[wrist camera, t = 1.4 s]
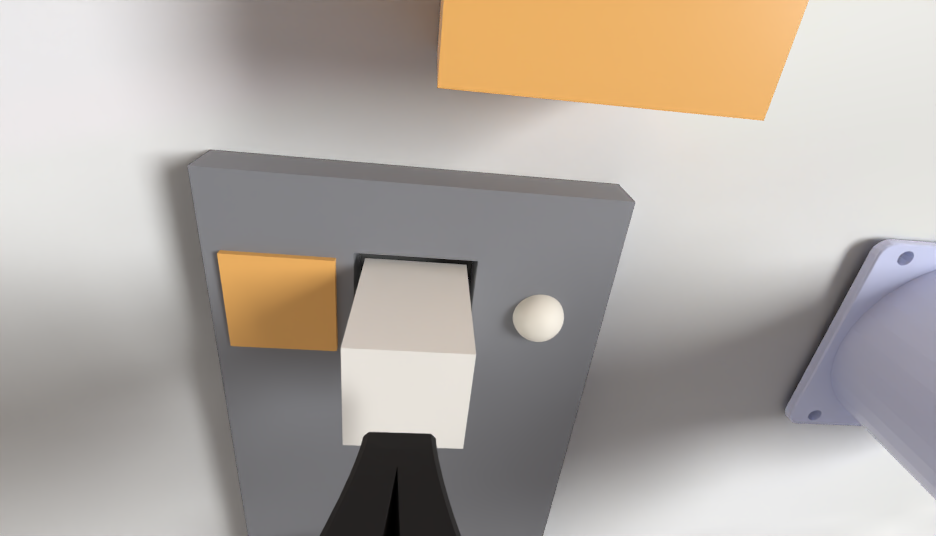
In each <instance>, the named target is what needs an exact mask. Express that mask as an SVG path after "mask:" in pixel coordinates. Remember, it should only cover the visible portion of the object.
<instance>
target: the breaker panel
mask: <svg viewBox="0 0 936 536" xmlns="http://www.w3.org/2000/svg"><path fill="white" fill-rule="evenodd" d="M188 172H189V178H190V184H191V190H192V196H193V202H194V209H195V215H196V221H197V227H198V233H199V239H200V245H201V251H202V257H203V263H204V269H205V276H206V282H207V288H208V294H209V300H210V306H211V312H212V318H213V324H214V330H215V336H216V343H217V349H218V355H219V361H220V367H221V373H222V379H223V385H224V391H225V397H226V403H227V410H228V416H229V422H230V428H231V434H232V440H233V446H234V452H235V458H236V464H237V470H238V476H239V483H240V489H241V495H242V501H243V507H244V513H245V519H246V525H247V531H248V536H320V534H321V532H322V530H323V528H324V526H325V524H326V522H327V520H328V518H329V516H330V514H331V512H332V510H333V508H334V507H335V505H336V503H337V501H338V499H339V497H340V495H341V492H342V490H343V488H344V486H345V484H346V481H347V479H348V477H349V475H350V472H351V470H352V468H353V465H354V463H355V460H356V457H357V455H358V452H359V449H360V446H356V445H343V439H342V389H341V345H342V341H343V338H344V334H345V330H346V327H347V323H348V319H349V316H350V312H351V308H352V305H353V301H354V297H355V294H356V290H357V287H358V283H359V279H360V253H363V254H378V255H393V256H408V257H423V258H438V259H453V260H468V261H472V266H471V275H470V283H469V293H470V302H471V311H472V321H473V330H474V339H475V348H476V360H475V367H474V374H473V381H472V388H471V395H470V403H469V410H468V417H467V424H466V431H465V438H464V446H463V449H454V448H437V452H438V458H439V463H440V468H441V472H442V476H443V480H444V484H445V487H446V491H447V494H448V498H449V501H450V504H451V508H452V511H453V514H454V517H455V520H456V523H457V525H458V528H459V531H460V534H461V536H543V533H544V530H545V526H546V523H547V519H548V515H549V512H550V508H551V505H552V501H553V497H554V494H555V490H556V487H557V483H558V479H559V476H560V472H561V469H562V465H563V461H564V458H565V454H566V451H567V447H568V443H569V440H570V436H571V432H572V429H573V425H574V422H575V418H576V414H577V411H578V407H579V404H580V400H581V396H582V393H583V389H584V386H585V382H586V378H587V375H588V371H589V368H590V364H591V360H592V357H593V353H594V350H595V346H596V342H597V339H598V335H599V331H600V328H601V324H602V321H603V317H604V313H605V310H606V306H607V303H608V299H609V295H610V292H611V288H612V285H613V281H614V277H615V274H616V270H617V267H618V263H619V259H620V256H621V252H622V249H623V245H624V241H625V238H626V234H627V231H628V227H629V223H630V220H631V216H632V212H633V209H634V205H635V201H634V200H633V199H632V198H631V197H630V196H629V195H628V194H627V193H626V192H625V191H624V190H623V188H622V187H621V186H620V185H619V184H609V183H598V182H586V181H574V180H562V179H550V178H538V177H526V176H515V175H503V174H491V173H479V172H467V171H455V170H444V169H432V168H420V167H408V166H396V165H384V164H372V163H361V162H349V161H337V160H325V159H313V158H301V157H289V156H278V155H266V154H254V153H242V152H230V151H218V150H210V151H208V152H207V153H205V154H204V155H202V156H201V157H199V158H198V159H196V160H195V161H193V162H192V163H190V164H189V165H188Z"/></svg>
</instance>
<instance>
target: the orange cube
mask: <svg viewBox="0 0 936 536" xmlns="http://www.w3.org/2000/svg"><path fill="white" fill-rule="evenodd" d="M808 1H809V0H441V5H440V20H439V34H438V49H437V88H443V89H453V90H463V91H473V92H483V93H493V94H503V95H513V96H523V97H533V98H543V99H553V100H563V101H573V102H583V103H593V104H603V105H613V106H623V107H633V108H643V109H653V110H663V111H673V112H683V113H693V114H703V115H713V116H723V117H733V118H743V119H753V120H763V121H764V118H765V116H766V113H767V110H768V108H769V105H770V102H771V100H772V97H773V94H774V92H775V89H776V86H777V84H778V81H779V78H780V76H781V73H782V70H783V68H784V65H785V62H786V60H787V57H788V54H789V52H790V49H791V46H792V44H793V41H794V38H795V36H796V33H797V30H798V28H799V25H800V22H801V20H802V17H803V14H804V12H805V9H806V6H807V4H808Z"/></svg>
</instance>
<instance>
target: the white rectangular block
mask: <svg viewBox="0 0 936 536" xmlns="http://www.w3.org/2000/svg"><path fill="white" fill-rule="evenodd" d="M475 360H476V348H475V339H474V330H473V321H472V311H471V302H470V293H469V284H468V275H467V265H463V264H448V263H433V262H418V261H403V260H388V259H373V258H365V261H364V265H363V268H362V272H361V276H360V279H359V283H358V287H357V290H356V294H355V297H354V301H353V305H352V308H351V312H350V316H349V319H348V323H347V327H346V330H345V334H344V338H343V341H342V345H341V389H342V439H343V445H356V446H361V443H362V439H363V436H364V435H365V434H367V433H368V432H392V433H425V434H432V435H433V436H434V437H435V438H436V445H437V448H454V449H463V446H464V438H465V431H466V424H467V417H468V410H469V403H470V395H471V388H472V381H473V374H474V367H475Z"/></svg>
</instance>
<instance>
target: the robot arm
mask: <svg viewBox="0 0 936 536" xmlns="http://www.w3.org/2000/svg"><path fill="white" fill-rule="evenodd" d="M901 254H902V256H901V257H899V256H900V255H901ZM785 414H786V416H787V417H788V418H789V419H790V420H791V421H792V422H794V423H806V424H832V425H859V426H863V427H864V428H865V429H866V430H867V431H868V432H869V433H870V434H871V435H872V436H873V437H874V438H875V439H876V440H877V441H878V442H879V443H880V444H881V445H882V446H883V447H884V448H885V449H886V450H887V451H888V452H889V453H890V454H891V455H892V456H893V457H894V458H895V459H896V460H897V461H898V462H899V463H900V464H901V465H902V466H903V467H904V468H905V469H906V470H907V471H908V472H909V473H910V474H911V475H912V476H913V477H914V478H915V479H916V480H917V481H918V482H919V483H920V484H921V485H922V486H923V487H924V488H925V489H926V490H927V491H928V492H929V493H930V494H931V495H932V496H933V497H934V498H935V499H936V243H934V242H922V241H909V240H896V239H888V240H883V241H881V242H879V243H877V244H876V245H875V246H874V247H873V248H872V249H871V251H870V252H869V254H868V256H867V258H866V260H865V261H864V263H863V265H862V267H861V269H860V271H859V273H858V274H857V276H856V278H855V280H854V282H853V284H852V286H851V287H850V289H849V291H848V293H847V295H846V297H845V299H844V300H843V302H842V304H841V306H840V308H839V310H838V312H837V314H836V315H835V317H834V319H833V321H832V323H831V325H830V327H829V328H828V330H827V332H826V334H825V336H824V338H823V340H822V341H821V343H820V345H819V347H818V349H817V351H816V353H815V354H814V356H813V358H812V360H811V362H810V364H809V366H808V367H807V369H806V371H805V373H804V375H803V377H802V379H801V380H800V382H799V384H798V386H797V388H796V390H795V392H794V393H793V395H792V397H791V399H790V401H789V403H788V405H787V406H786V409H785ZM320 536H461V534H460V531H459V528H458V525H457V523H456V520H455V517H454V514H453V511H452V508H451V504H450V501H449V498H448V494H447V491H446V487H445V484H444V480H443V476H442V472H441V468H440V463H439V458H438V452H437V445H436V438H435V437H434V436H433V435H432V434H425V433H392V432H368V433H367V434H365V435H364V436H363V439H362V443H361V446H360V449H359V452H358V455H357V457H356V460H355V463H354V465H353V468H352V470H351V472H350V475H349V477H348V479H347V481H346V484H345V486H344V488H343V490H342V492H341V495H340V497H339V499H338V501H337V503H336V505H335V507H334V508H333V510H332V512H331V514H330V516H329V518H328V520H327V522H326V524H325V526H324V528H323V530H322V532H321V534H320Z"/></svg>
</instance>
